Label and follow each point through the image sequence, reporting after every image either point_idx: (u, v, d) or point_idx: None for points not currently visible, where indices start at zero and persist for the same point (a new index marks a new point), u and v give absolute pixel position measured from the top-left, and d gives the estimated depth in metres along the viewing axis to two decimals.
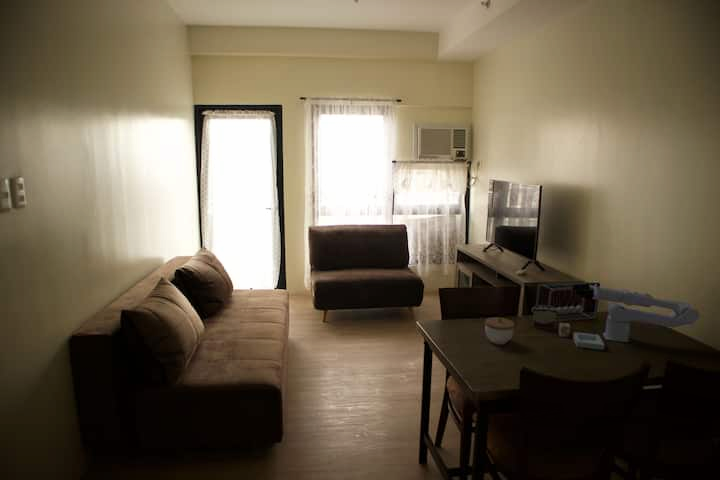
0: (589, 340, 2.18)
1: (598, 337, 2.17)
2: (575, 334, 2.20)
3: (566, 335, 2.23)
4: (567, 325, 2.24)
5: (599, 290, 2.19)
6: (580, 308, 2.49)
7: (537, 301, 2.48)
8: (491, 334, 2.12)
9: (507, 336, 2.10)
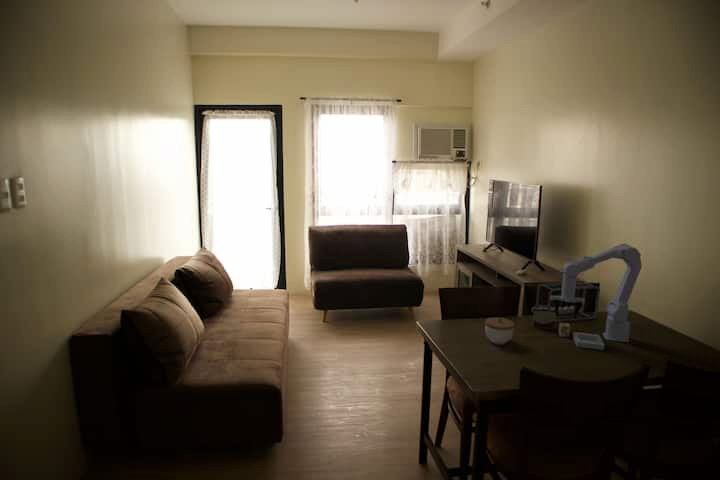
0: (589, 340, 2.18)
1: (598, 337, 2.17)
2: (575, 334, 2.20)
3: (566, 335, 2.23)
4: (567, 325, 2.24)
5: (573, 297, 2.20)
6: (580, 308, 2.49)
7: (537, 301, 2.48)
8: (491, 334, 2.12)
9: (507, 336, 2.10)
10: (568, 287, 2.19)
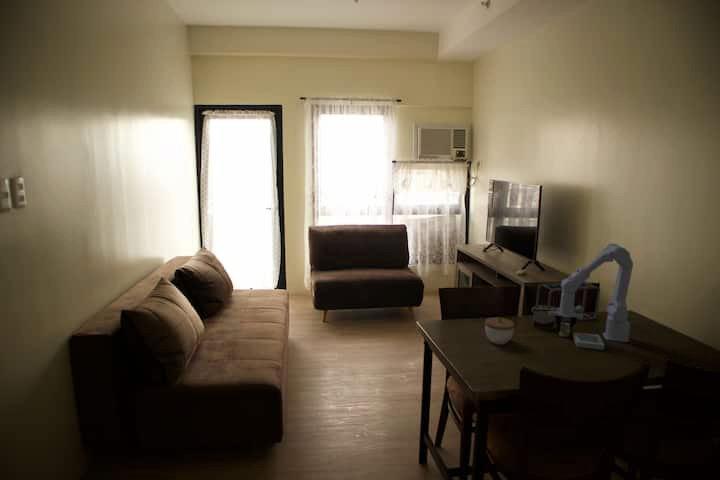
0: (589, 340, 2.18)
1: (598, 337, 2.17)
2: (575, 334, 2.20)
3: (566, 335, 2.23)
4: (567, 325, 2.24)
5: (571, 312, 2.21)
6: (580, 308, 2.49)
7: (537, 301, 2.48)
8: (491, 334, 2.12)
9: (507, 336, 2.10)
10: (566, 303, 2.20)
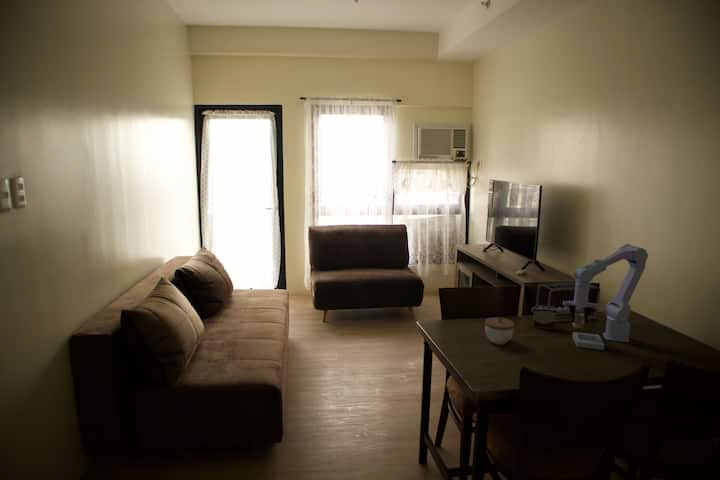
0: (589, 340, 2.18)
1: (598, 337, 2.17)
2: (575, 334, 2.20)
3: (580, 326, 2.17)
4: (581, 316, 2.18)
5: (586, 302, 2.15)
6: (581, 308, 2.48)
7: (537, 301, 2.48)
8: (491, 334, 2.12)
9: (507, 336, 2.10)
10: (583, 292, 2.13)
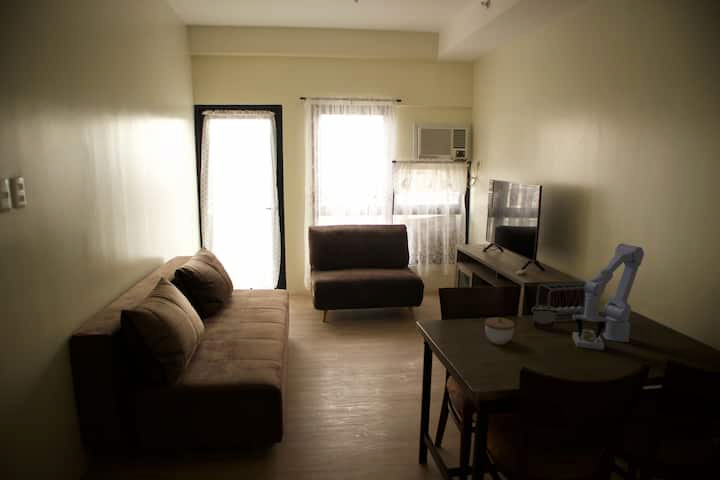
0: None
1: (598, 337, 2.17)
2: (575, 334, 2.20)
3: None
4: (591, 332, 2.14)
5: (596, 316, 2.11)
6: (581, 309, 2.48)
7: (537, 301, 2.48)
8: (491, 334, 2.12)
9: (507, 336, 2.10)
10: (595, 306, 2.10)
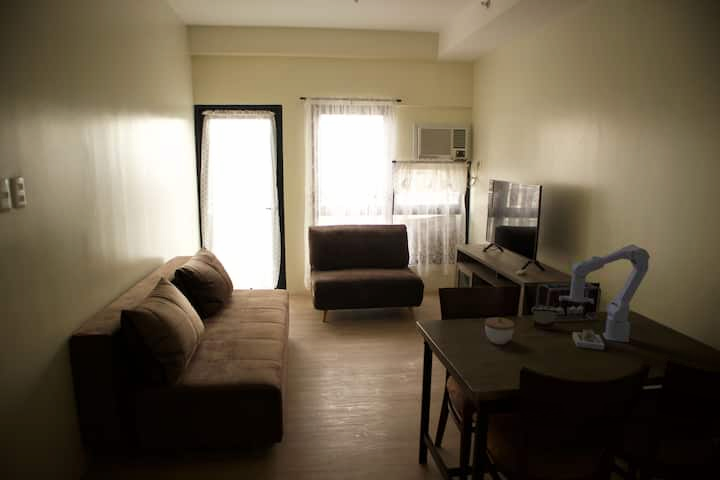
0: None
1: (598, 337, 2.17)
2: (575, 334, 2.20)
3: None
4: (591, 332, 2.14)
5: (582, 297, 2.18)
6: (581, 309, 2.48)
7: (537, 301, 2.48)
8: (491, 334, 2.12)
9: (507, 336, 2.10)
10: (577, 287, 2.17)
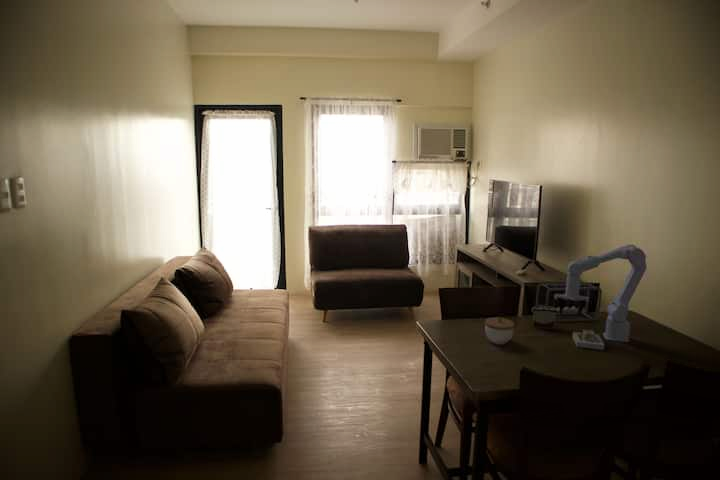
0: None
1: (598, 337, 2.17)
2: (575, 334, 2.20)
3: None
4: (591, 332, 2.14)
5: (577, 295, 2.21)
6: None
7: (536, 300, 2.49)
8: (491, 334, 2.12)
9: (507, 336, 2.10)
10: (572, 285, 2.20)
